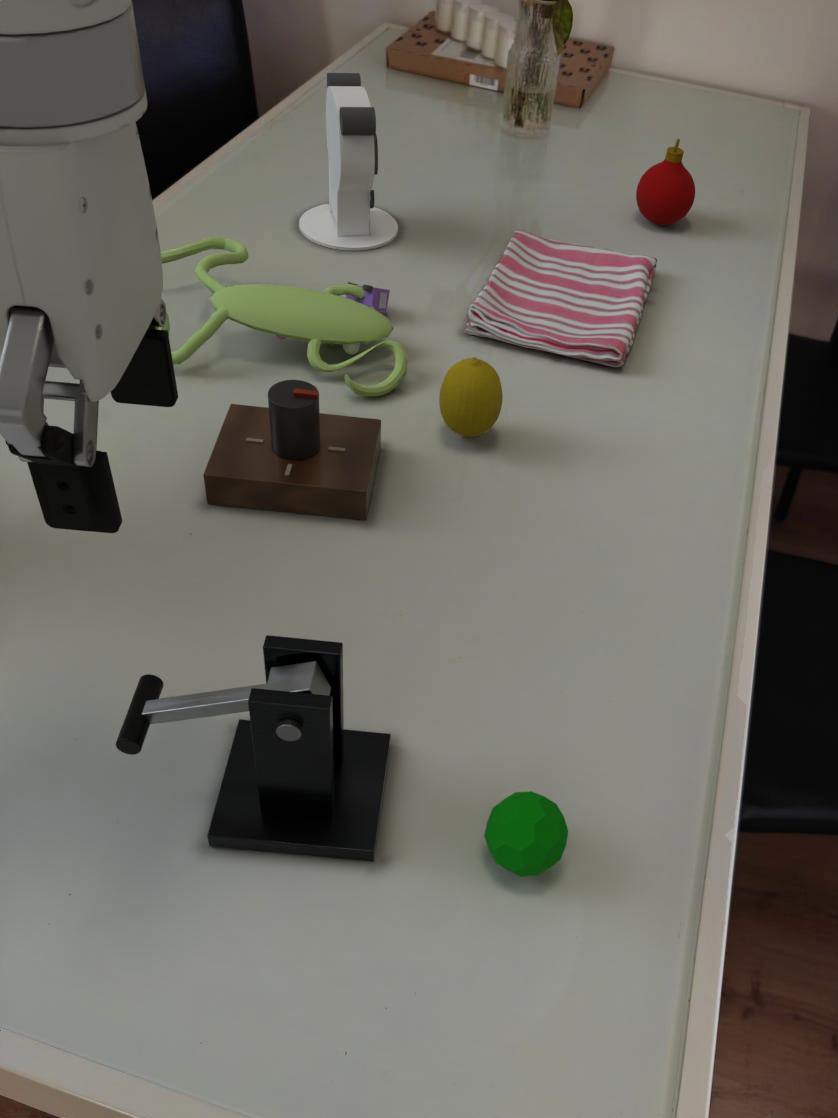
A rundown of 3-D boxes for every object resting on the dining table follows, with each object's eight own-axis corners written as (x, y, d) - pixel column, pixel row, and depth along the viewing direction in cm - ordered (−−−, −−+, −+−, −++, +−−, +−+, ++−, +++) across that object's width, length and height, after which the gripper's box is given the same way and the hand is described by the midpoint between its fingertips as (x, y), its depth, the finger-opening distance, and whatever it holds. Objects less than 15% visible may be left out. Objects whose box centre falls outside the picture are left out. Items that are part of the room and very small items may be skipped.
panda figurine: (407, 252, 116) (413, 112, 105) (306, 254, 113) (301, 111, 103) (388, 204, 124) (392, 69, 113) (293, 206, 121) (288, 68, 110)
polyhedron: (522, 807, 66) (531, 763, 63) (577, 858, 64) (590, 815, 60) (465, 850, 63) (471, 807, 60) (520, 905, 61) (530, 863, 58)
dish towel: (458, 339, 104) (461, 307, 102) (514, 242, 120) (518, 212, 118) (622, 376, 102) (629, 345, 100) (657, 273, 118) (664, 244, 115)
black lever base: (208, 846, 62) (185, 725, 53) (240, 730, 68) (224, 604, 60) (373, 862, 62) (377, 744, 54) (390, 744, 69) (395, 621, 60)
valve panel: (206, 504, 83) (202, 472, 81) (233, 432, 90) (230, 401, 88) (366, 520, 84) (366, 490, 82) (380, 447, 91) (381, 417, 88)
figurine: (177, 274, 108) (170, 222, 104) (427, 309, 108) (430, 258, 104) (114, 367, 95) (103, 312, 91) (397, 408, 95) (399, 354, 91)
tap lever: (127, 761, 60) (106, 736, 58) (150, 695, 63) (131, 670, 61) (321, 736, 57) (305, 709, 55) (335, 669, 60) (320, 642, 59)
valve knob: (267, 457, 83) (262, 401, 80) (276, 428, 86) (272, 373, 82) (316, 462, 84) (314, 407, 80) (323, 433, 86) (322, 379, 82)
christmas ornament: (681, 240, 124) (702, 156, 117) (625, 227, 125) (642, 142, 118) (692, 217, 129) (712, 134, 122) (637, 204, 130) (654, 122, 123)
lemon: (444, 413, 95) (450, 336, 89) (502, 425, 95) (512, 348, 89) (430, 448, 91) (435, 369, 86) (490, 460, 91) (500, 382, 85)
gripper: (11, -17, 42) (94, 356, 54) (-204, 146, 30) (-35, 578, 42) (195, 1, 42) (236, 368, 54) (55, 170, 30) (148, 593, 42)
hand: (117, 460), depth 48 cm, fingers open, 9 cm apart
